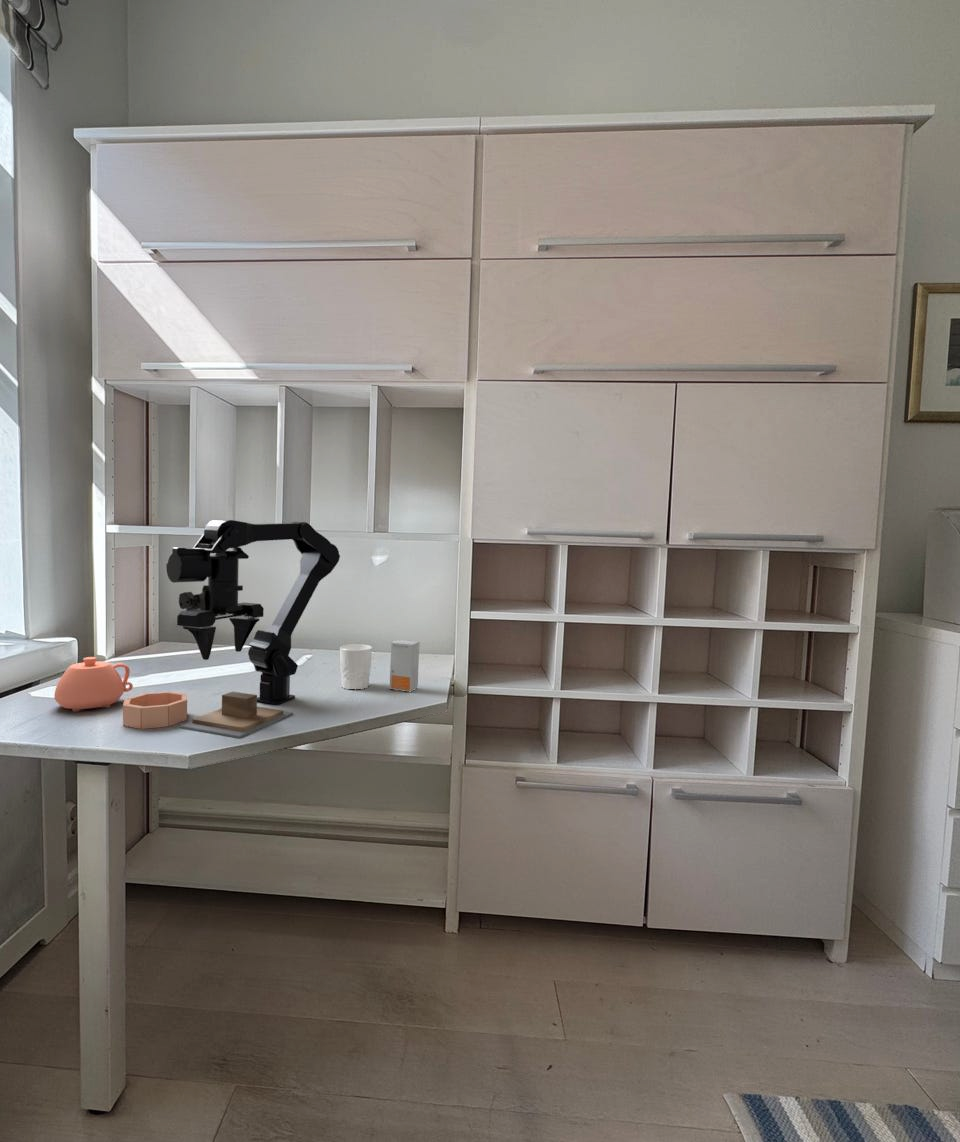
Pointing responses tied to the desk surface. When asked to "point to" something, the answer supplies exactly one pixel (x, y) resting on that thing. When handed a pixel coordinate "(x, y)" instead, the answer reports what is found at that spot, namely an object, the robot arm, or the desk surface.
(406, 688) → the skincare box
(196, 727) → the mat
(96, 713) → the desk surface
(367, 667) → the white cup
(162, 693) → the bowl
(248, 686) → the desk surface
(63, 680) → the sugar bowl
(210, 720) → the cover
